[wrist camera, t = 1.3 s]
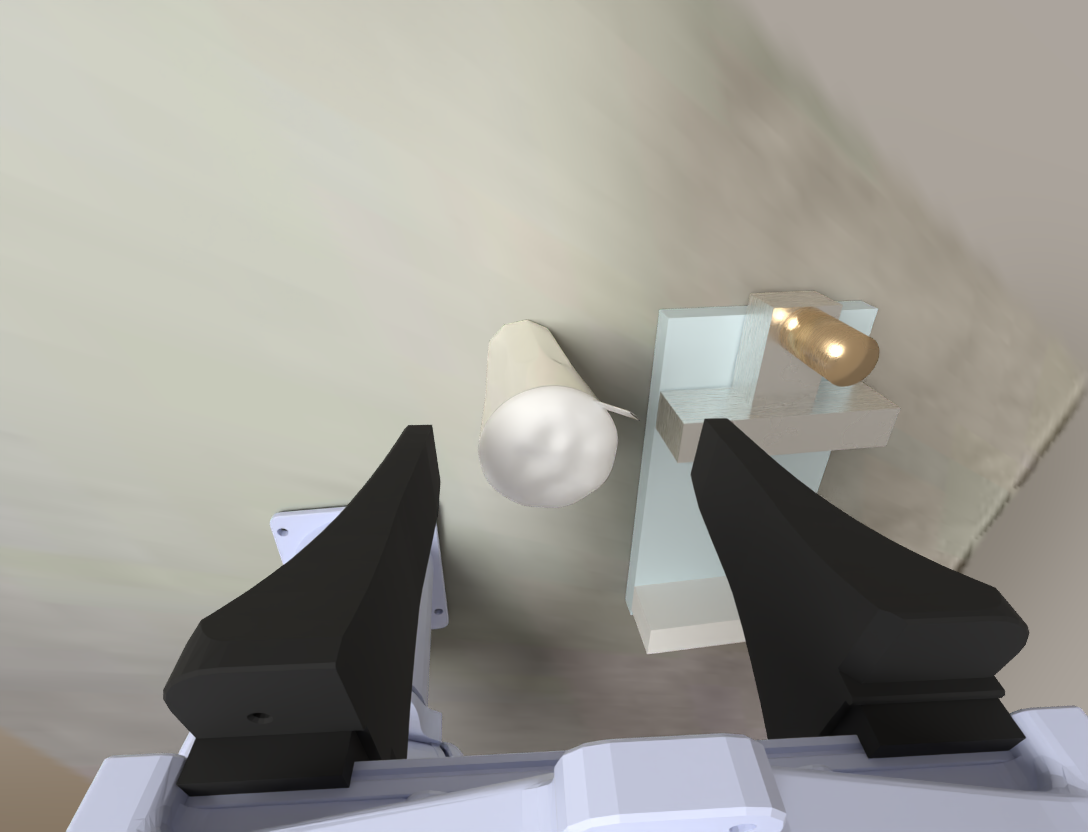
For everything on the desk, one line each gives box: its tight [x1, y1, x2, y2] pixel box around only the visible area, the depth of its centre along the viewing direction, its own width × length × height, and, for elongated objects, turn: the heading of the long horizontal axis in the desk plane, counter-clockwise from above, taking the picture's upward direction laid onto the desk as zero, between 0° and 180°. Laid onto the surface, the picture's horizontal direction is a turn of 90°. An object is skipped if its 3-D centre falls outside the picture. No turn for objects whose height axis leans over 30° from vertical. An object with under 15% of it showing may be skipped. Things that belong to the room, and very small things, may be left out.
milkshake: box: [478, 320, 639, 508], centre depth 20 cm, size 4×5×10 cm
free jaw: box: [655, 291, 901, 463], centre depth 22 cm, size 6×10×5 cm, turn 89°
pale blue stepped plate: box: [625, 301, 878, 654], centre depth 28 cm, size 19×10×4 cm, turn 0°
